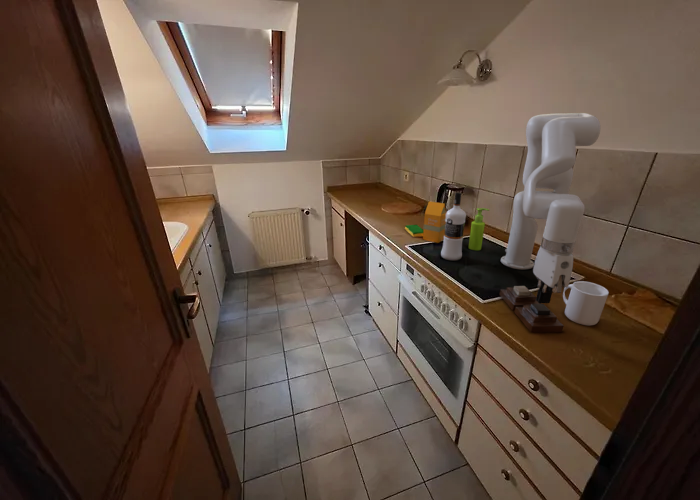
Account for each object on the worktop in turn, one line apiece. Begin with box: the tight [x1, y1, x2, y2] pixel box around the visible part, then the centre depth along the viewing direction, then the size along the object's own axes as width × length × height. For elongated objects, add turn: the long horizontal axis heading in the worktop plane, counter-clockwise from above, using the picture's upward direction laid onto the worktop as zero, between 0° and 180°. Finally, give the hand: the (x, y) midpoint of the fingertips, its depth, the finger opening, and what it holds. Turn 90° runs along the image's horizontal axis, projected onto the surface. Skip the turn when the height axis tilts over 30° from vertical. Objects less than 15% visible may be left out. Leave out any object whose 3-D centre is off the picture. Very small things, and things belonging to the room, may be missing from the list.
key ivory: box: [513, 285, 531, 295], centre depth 100 cm, size 4×4×2 cm
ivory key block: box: [498, 286, 542, 312], centre depth 101 cm, size 10×9×4 cm
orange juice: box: [422, 201, 447, 244], centre depth 155 cm, size 8×9×20 cm
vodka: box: [440, 191, 467, 262], centre depth 132 cm, size 9×9×30 cm
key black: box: [530, 303, 551, 315], centre depth 90 cm, size 4×4×2 cm
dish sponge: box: [404, 224, 424, 238], centre depth 169 cm, size 7×14×2 cm, turn 9°
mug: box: [562, 280, 610, 326], centre depth 93 cm, size 9×12×11 cm
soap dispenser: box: [467, 207, 490, 251], centre depth 142 cm, size 6×7×20 cm
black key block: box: [514, 305, 565, 333], centre depth 91 cm, size 10×9×4 cm
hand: (542, 301), depth 89 cm, fingers closed
